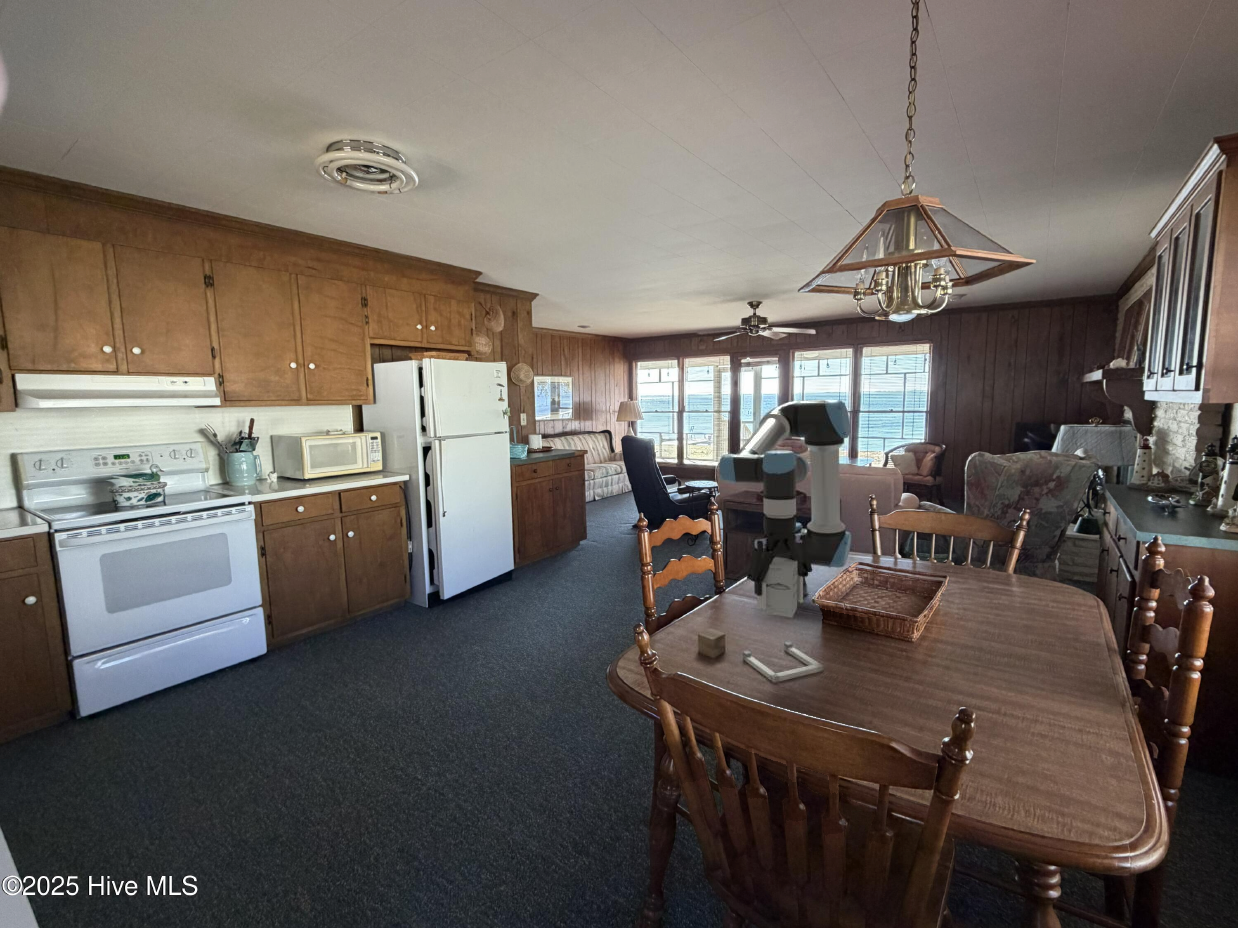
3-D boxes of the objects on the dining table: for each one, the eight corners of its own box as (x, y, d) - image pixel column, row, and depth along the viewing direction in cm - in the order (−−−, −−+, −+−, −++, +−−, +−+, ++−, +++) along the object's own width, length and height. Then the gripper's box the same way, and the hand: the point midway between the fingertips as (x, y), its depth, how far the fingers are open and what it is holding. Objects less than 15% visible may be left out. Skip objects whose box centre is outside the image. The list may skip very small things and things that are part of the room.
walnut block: (710, 646, 148) (710, 628, 148) (725, 651, 145) (725, 633, 144) (698, 651, 145) (697, 633, 145) (713, 658, 141) (712, 639, 141)
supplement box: (761, 614, 134) (760, 563, 132) (768, 603, 140) (768, 555, 139) (792, 618, 130) (792, 566, 129) (798, 607, 137) (798, 558, 135)
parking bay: (788, 648, 145) (788, 641, 144) (823, 670, 133) (823, 662, 132) (742, 659, 140) (742, 651, 140) (774, 682, 128) (773, 674, 128)
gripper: (807, 507, 140) (807, 592, 142) (730, 517, 132) (732, 606, 135) (828, 512, 133) (828, 601, 135) (748, 522, 125) (749, 617, 128)
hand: (780, 604), depth 135 cm, fingers closed on supplement box, 10 cm apart
